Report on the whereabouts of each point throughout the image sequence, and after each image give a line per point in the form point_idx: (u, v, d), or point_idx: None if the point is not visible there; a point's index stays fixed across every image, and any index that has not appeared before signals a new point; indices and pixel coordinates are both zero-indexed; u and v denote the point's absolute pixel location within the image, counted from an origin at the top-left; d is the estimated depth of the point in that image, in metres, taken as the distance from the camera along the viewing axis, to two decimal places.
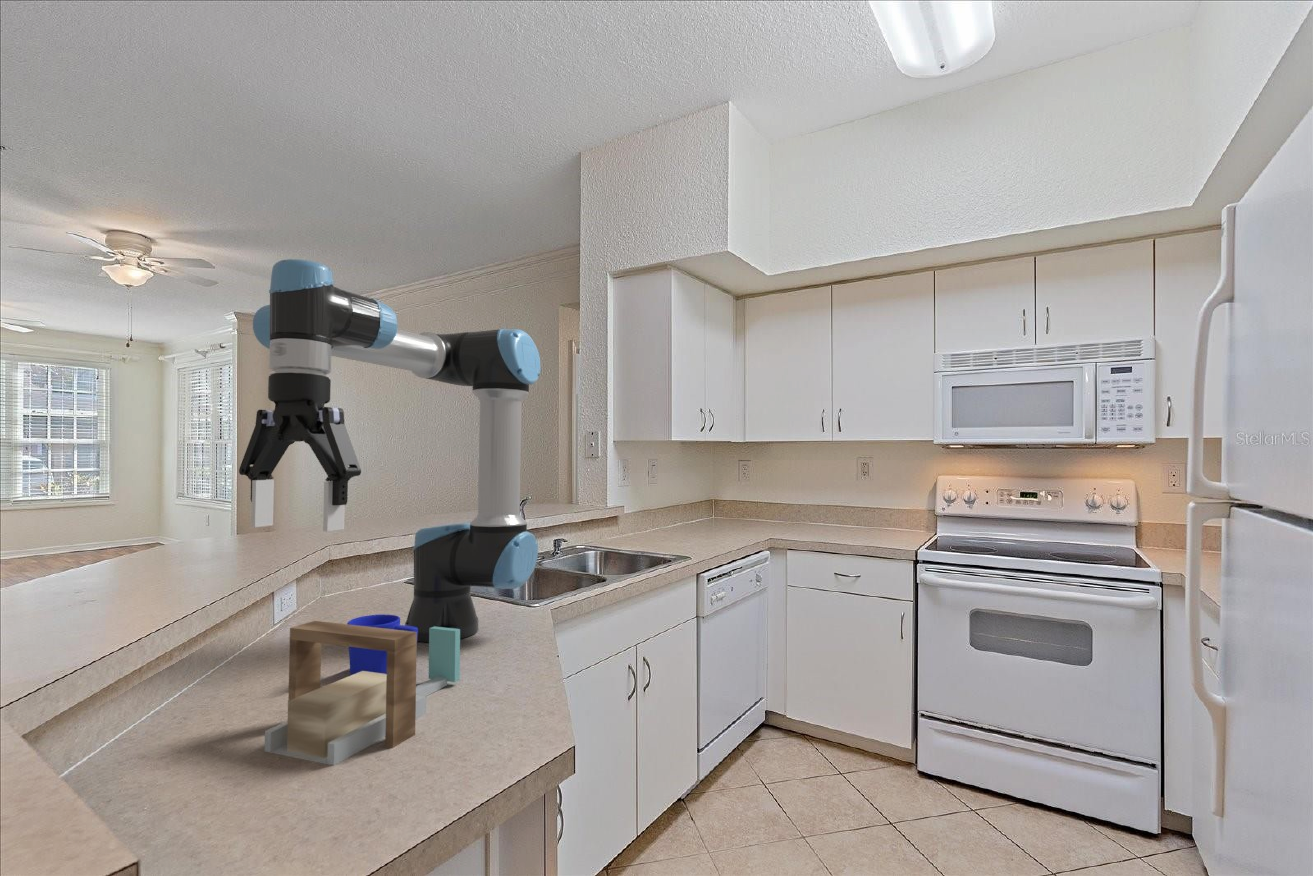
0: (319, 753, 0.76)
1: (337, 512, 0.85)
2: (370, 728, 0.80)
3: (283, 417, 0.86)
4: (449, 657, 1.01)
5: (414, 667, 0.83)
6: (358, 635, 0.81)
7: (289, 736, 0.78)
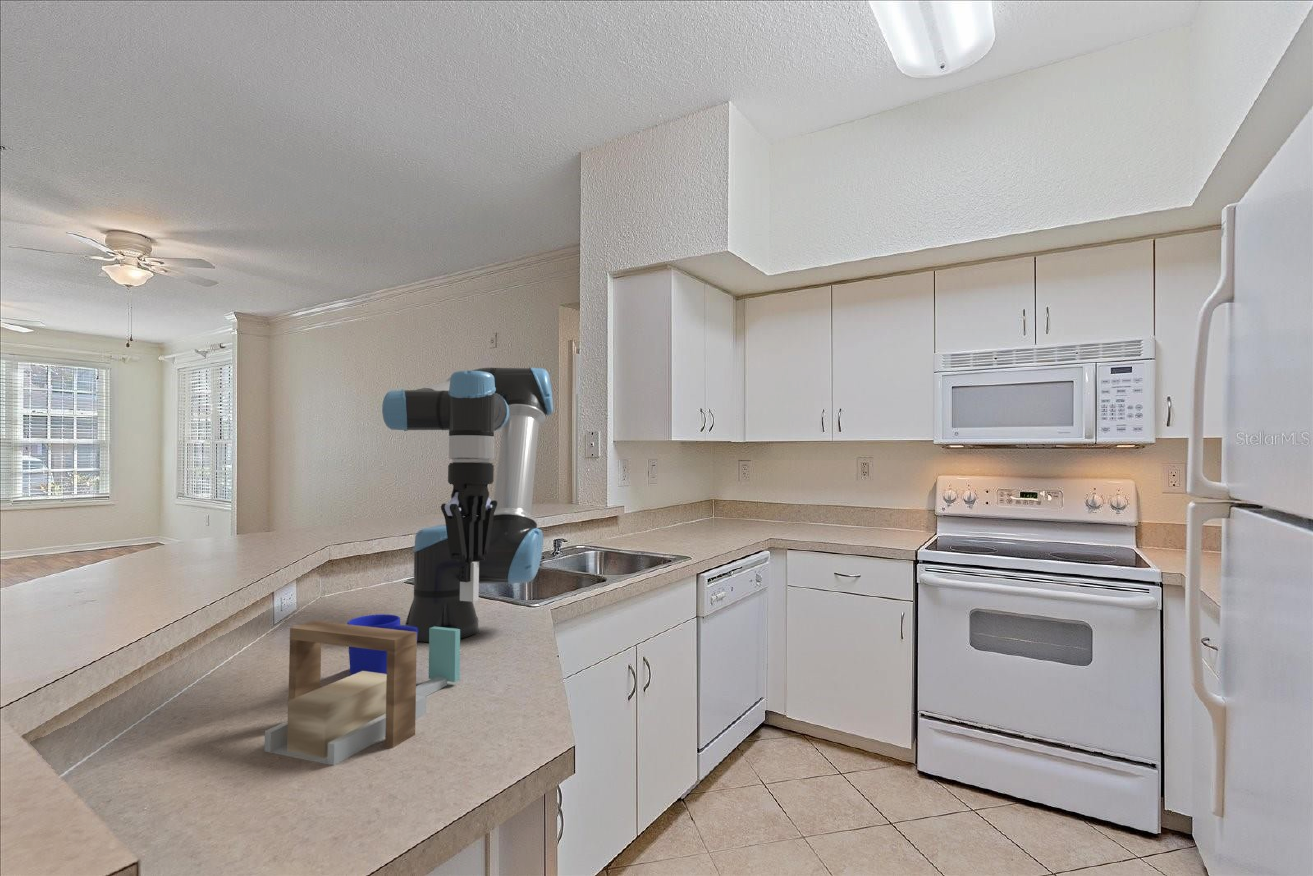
0: (319, 753, 0.76)
1: (467, 587, 1.07)
2: (370, 728, 0.80)
3: None
4: (449, 657, 1.01)
5: (414, 667, 0.83)
6: (358, 635, 0.81)
7: (289, 736, 0.78)
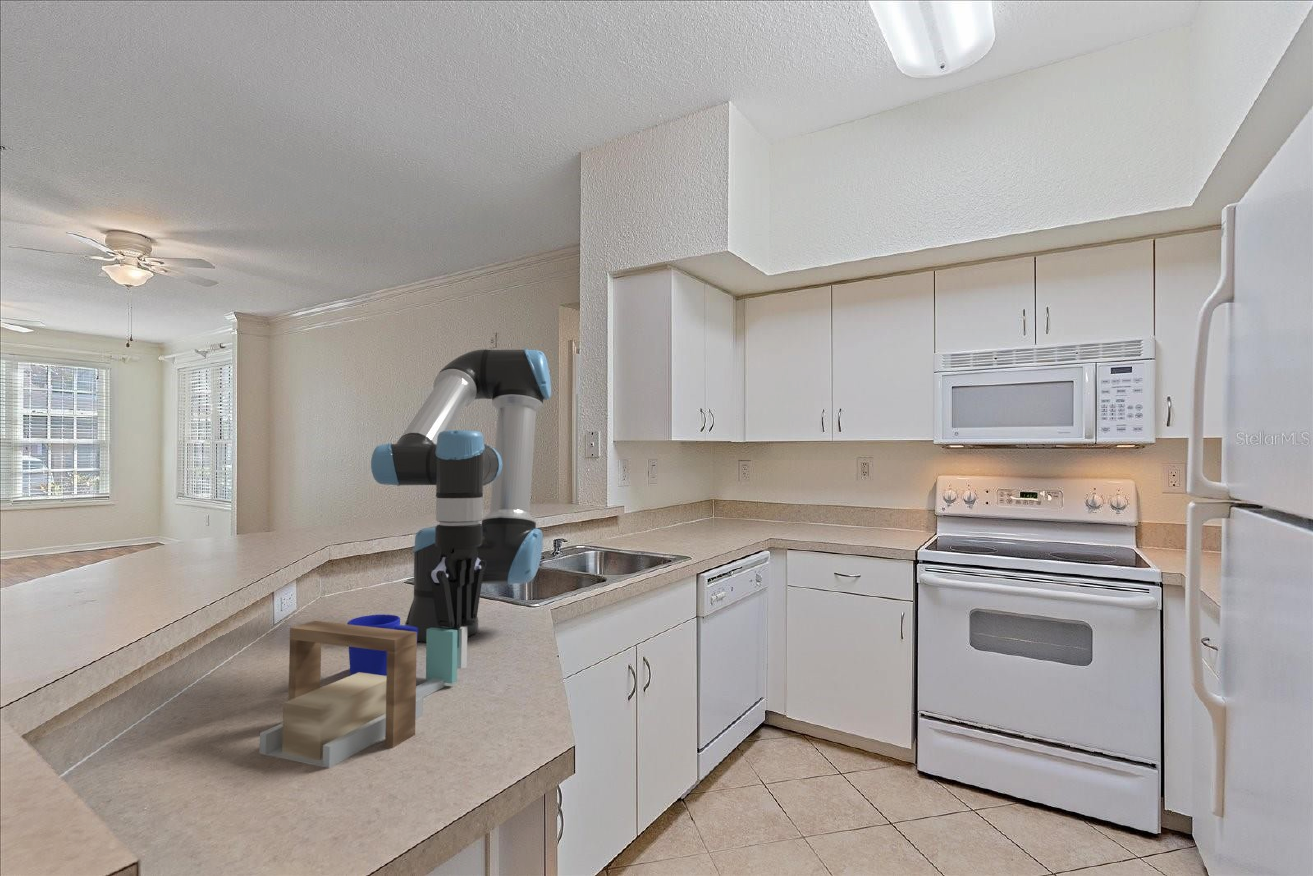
0: (314, 755, 0.76)
1: None
2: (366, 730, 0.79)
3: None
4: (446, 658, 1.00)
5: (414, 667, 0.83)
6: (358, 635, 0.81)
7: (284, 738, 0.77)
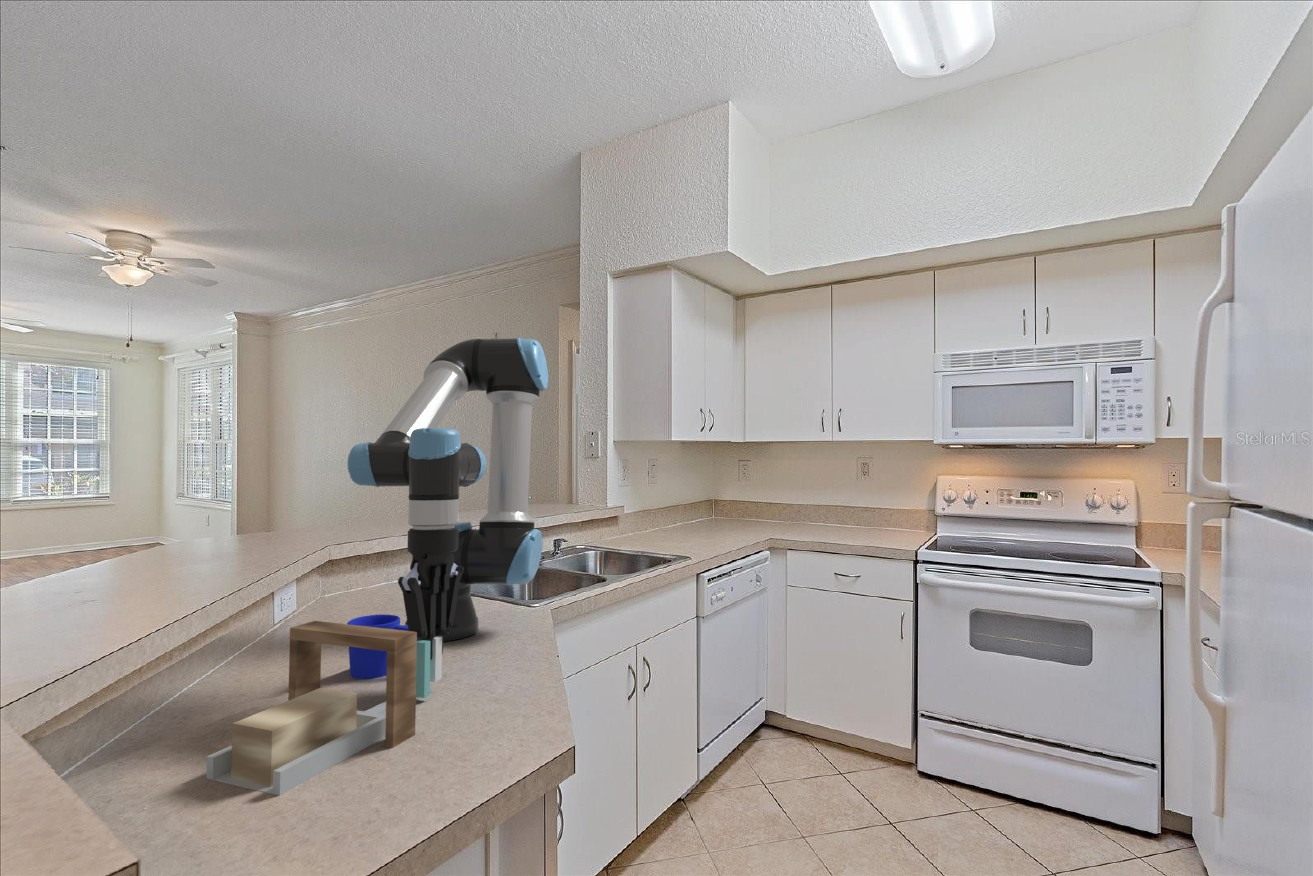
0: (265, 781, 0.70)
1: None
2: (323, 753, 0.73)
3: None
4: (418, 671, 0.94)
5: (414, 667, 0.83)
6: (358, 635, 0.81)
7: (233, 762, 0.71)
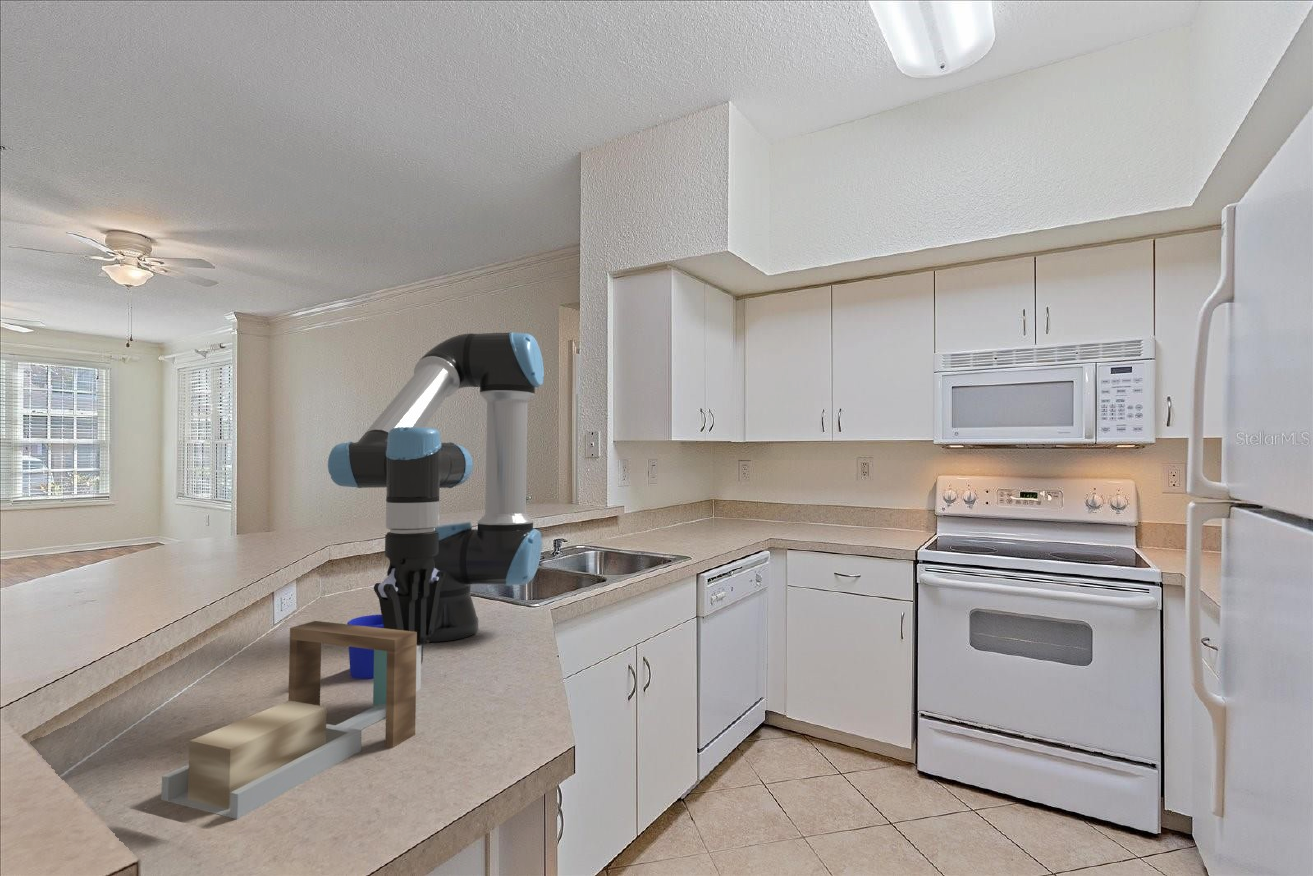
0: (223, 803, 0.65)
1: None
2: (287, 772, 0.68)
3: None
4: None
5: (414, 667, 0.83)
6: (358, 635, 0.81)
7: (190, 782, 0.67)
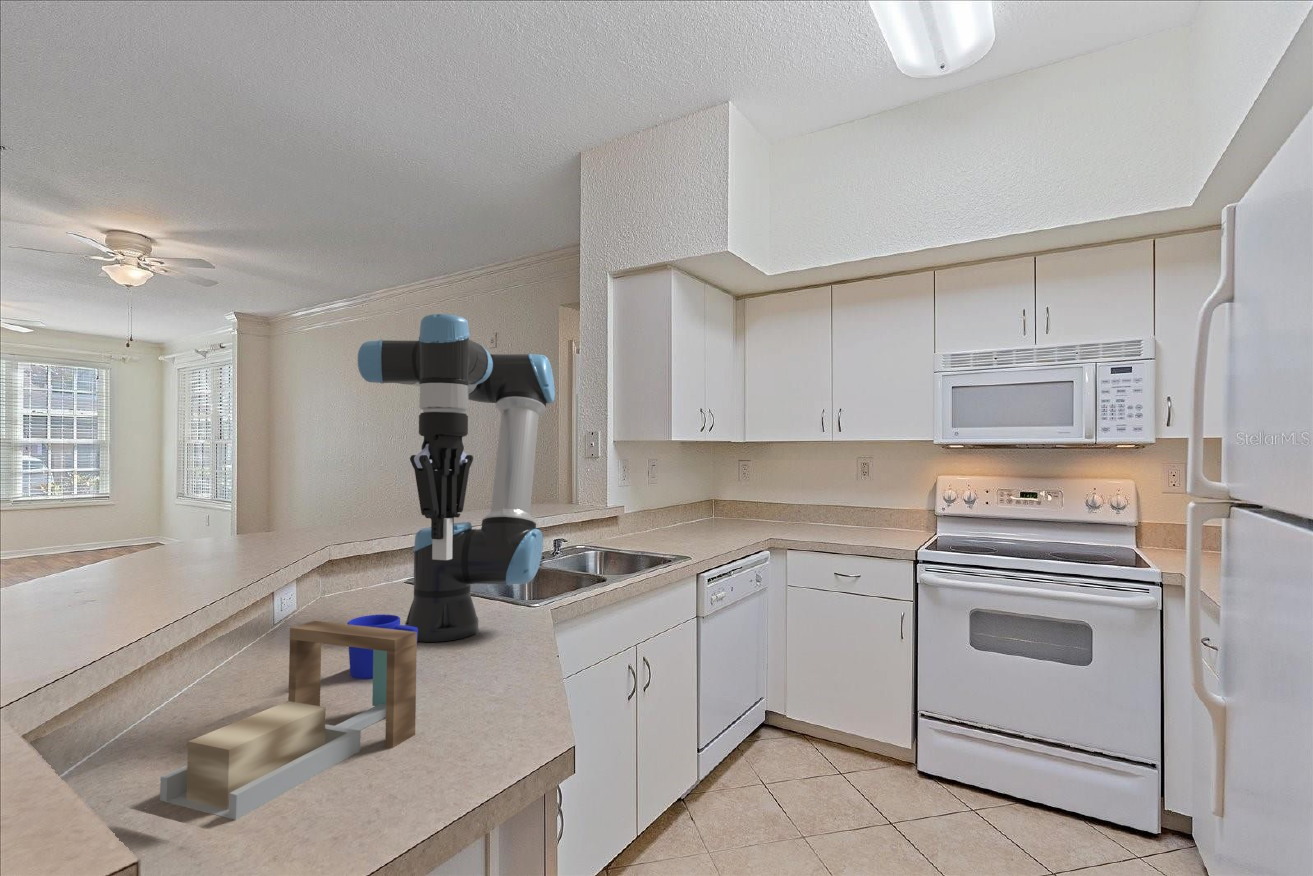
0: (222, 804, 0.65)
1: (440, 545, 1.01)
2: (286, 772, 0.68)
3: None
4: None
5: (414, 667, 0.83)
6: (358, 635, 0.81)
7: (189, 783, 0.67)
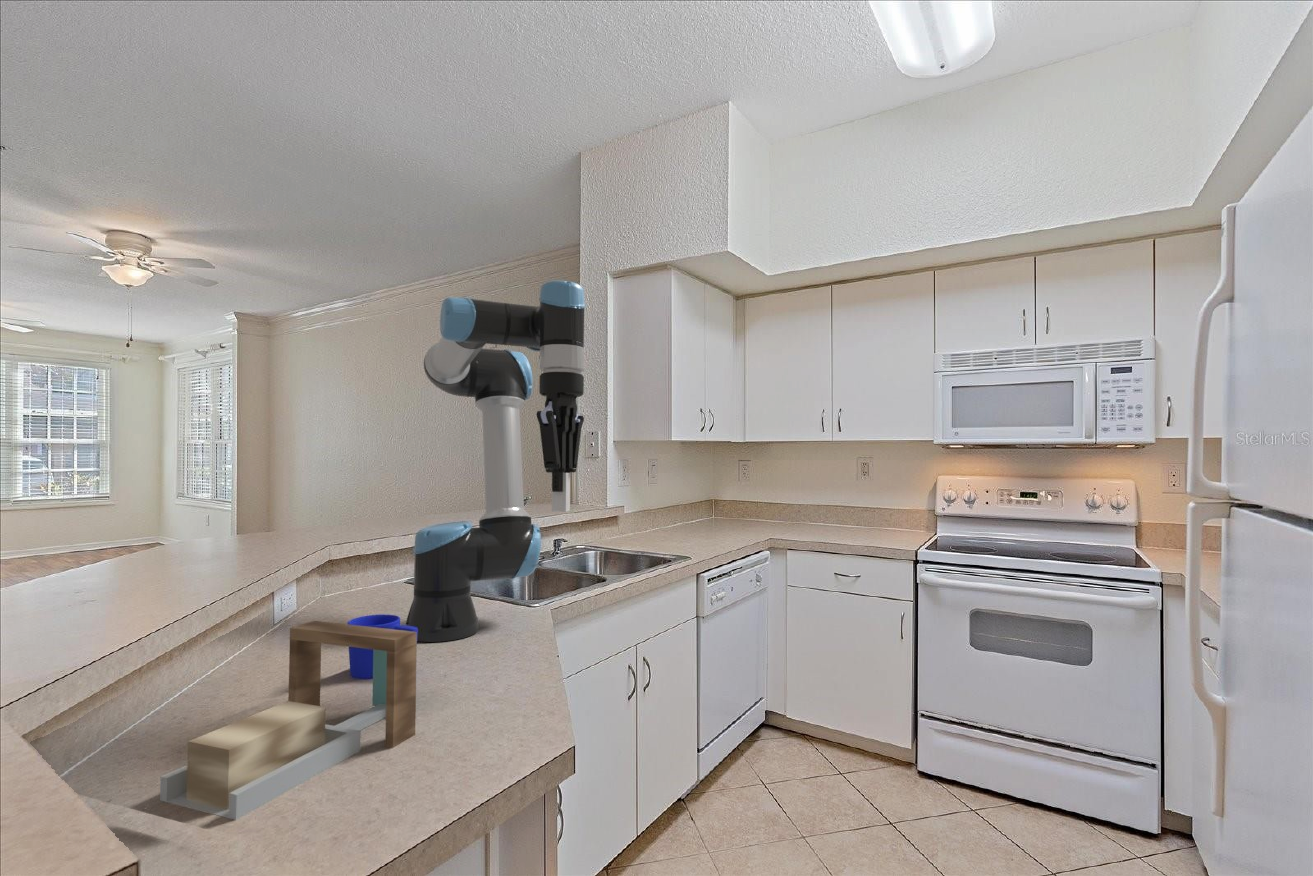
0: (222, 804, 0.65)
1: (559, 497, 1.07)
2: (286, 772, 0.68)
3: None
4: None
5: (414, 667, 0.83)
6: (358, 635, 0.81)
7: (189, 783, 0.67)
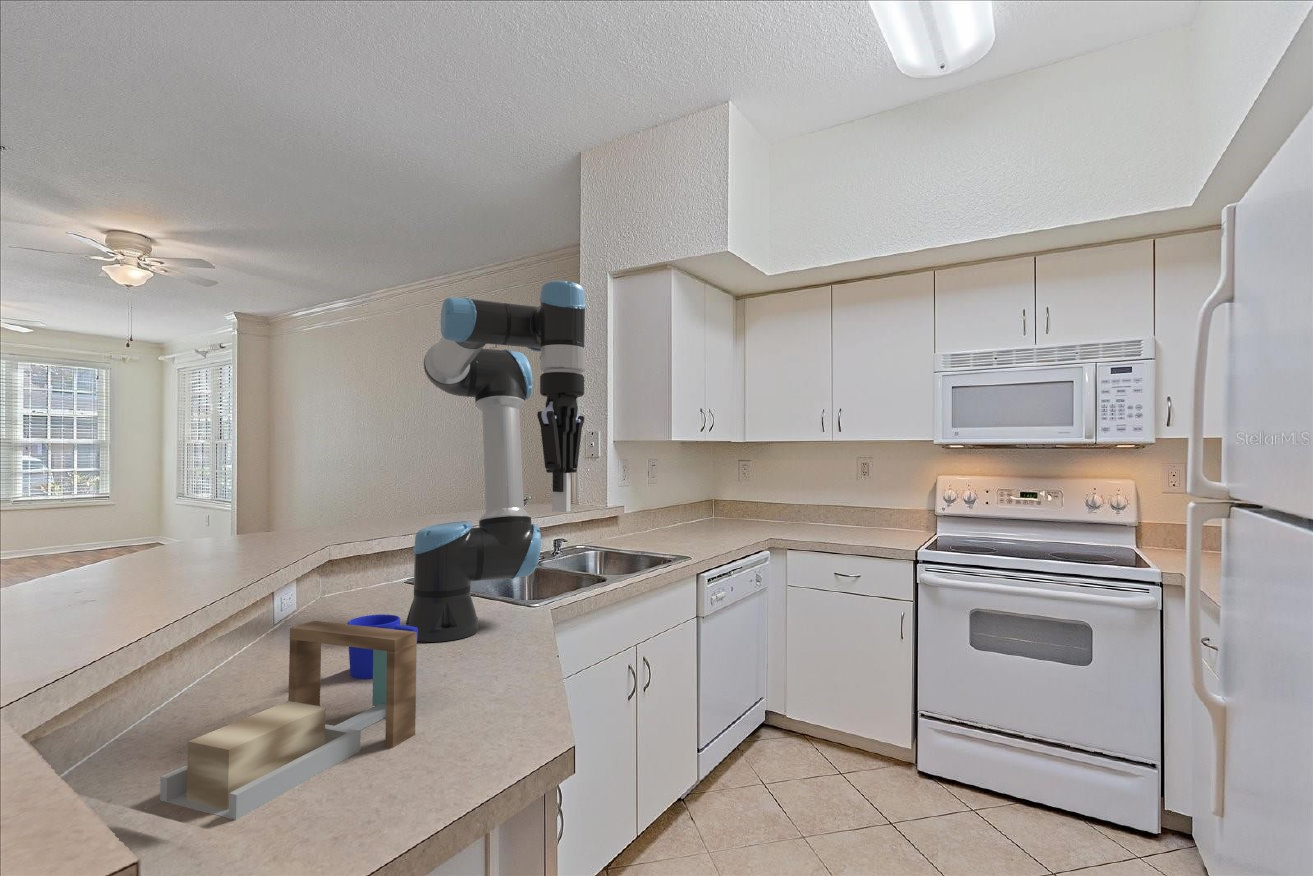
0: (222, 804, 0.65)
1: (560, 497, 1.07)
2: (286, 772, 0.68)
3: None
4: None
5: (414, 667, 0.83)
6: (358, 635, 0.81)
7: (189, 783, 0.67)
